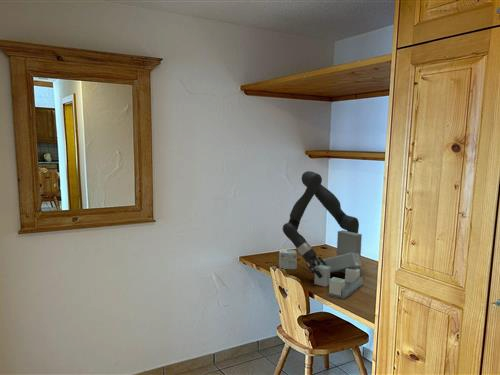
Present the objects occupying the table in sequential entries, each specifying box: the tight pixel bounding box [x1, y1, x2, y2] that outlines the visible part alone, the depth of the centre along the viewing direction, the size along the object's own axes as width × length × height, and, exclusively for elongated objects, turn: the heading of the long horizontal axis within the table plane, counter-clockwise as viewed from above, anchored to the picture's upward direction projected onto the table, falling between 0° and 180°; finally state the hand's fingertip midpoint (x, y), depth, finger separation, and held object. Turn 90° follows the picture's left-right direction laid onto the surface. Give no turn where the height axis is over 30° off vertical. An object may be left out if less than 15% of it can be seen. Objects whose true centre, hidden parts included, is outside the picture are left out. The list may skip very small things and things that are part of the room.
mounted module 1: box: [328, 276, 345, 296], centre depth 203 cm, size 5×6×7 cm
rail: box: [327, 276, 364, 300], centre depth 212 cm, size 26×9×4 cm, turn 144°
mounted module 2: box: [344, 267, 361, 283], centre depth 220 cm, size 5×6×7 cm
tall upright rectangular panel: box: [336, 229, 362, 275], centre depth 239 cm, size 14×6×25 cm, turn 41°
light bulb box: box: [278, 249, 298, 270], centre depth 248 cm, size 11×7×11 cm, turn 92°
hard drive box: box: [322, 253, 363, 274], centre depth 230 cm, size 16×8×20 cm
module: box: [313, 265, 331, 288], centre depth 220 cm, size 5×7×10 cm
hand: (324, 275), depth 219 cm, fingers open, 8 cm apart
